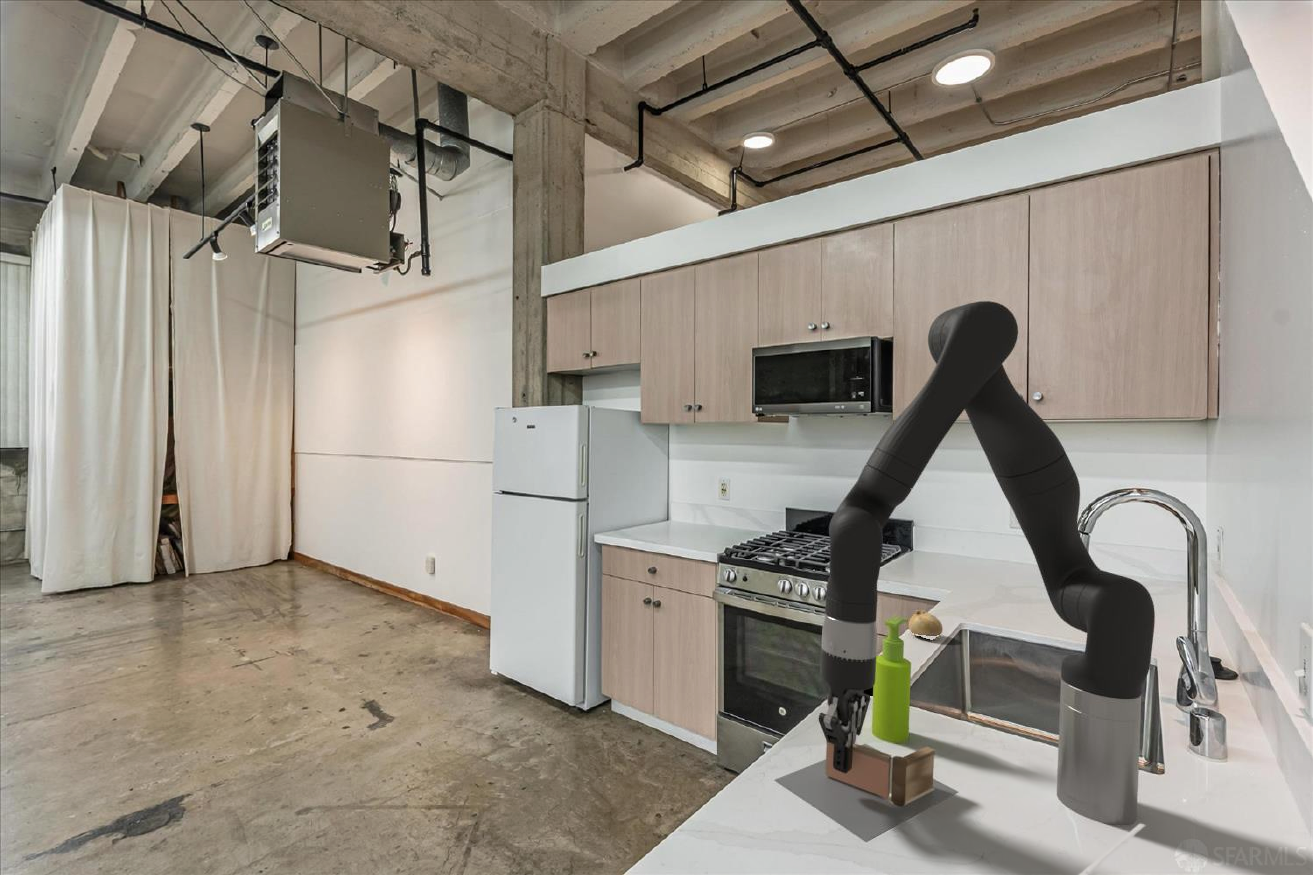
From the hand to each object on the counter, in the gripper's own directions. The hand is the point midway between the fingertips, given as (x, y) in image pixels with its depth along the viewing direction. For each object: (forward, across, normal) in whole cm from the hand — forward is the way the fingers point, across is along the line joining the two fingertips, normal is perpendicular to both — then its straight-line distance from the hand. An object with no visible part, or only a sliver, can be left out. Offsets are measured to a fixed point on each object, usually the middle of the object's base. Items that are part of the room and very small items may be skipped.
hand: (842, 769), depth 88 cm
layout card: (+4, +4, -2) cm, 6 cm away
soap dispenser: (+3, +23, +1) cm, 23 cm away
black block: (+4, +40, +11) cm, 42 cm away
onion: (+2, +83, +14) cm, 85 cm away
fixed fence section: (+3, +6, -8) cm, 11 cm away
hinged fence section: (+3, +3, -1) cm, 4 cm away
